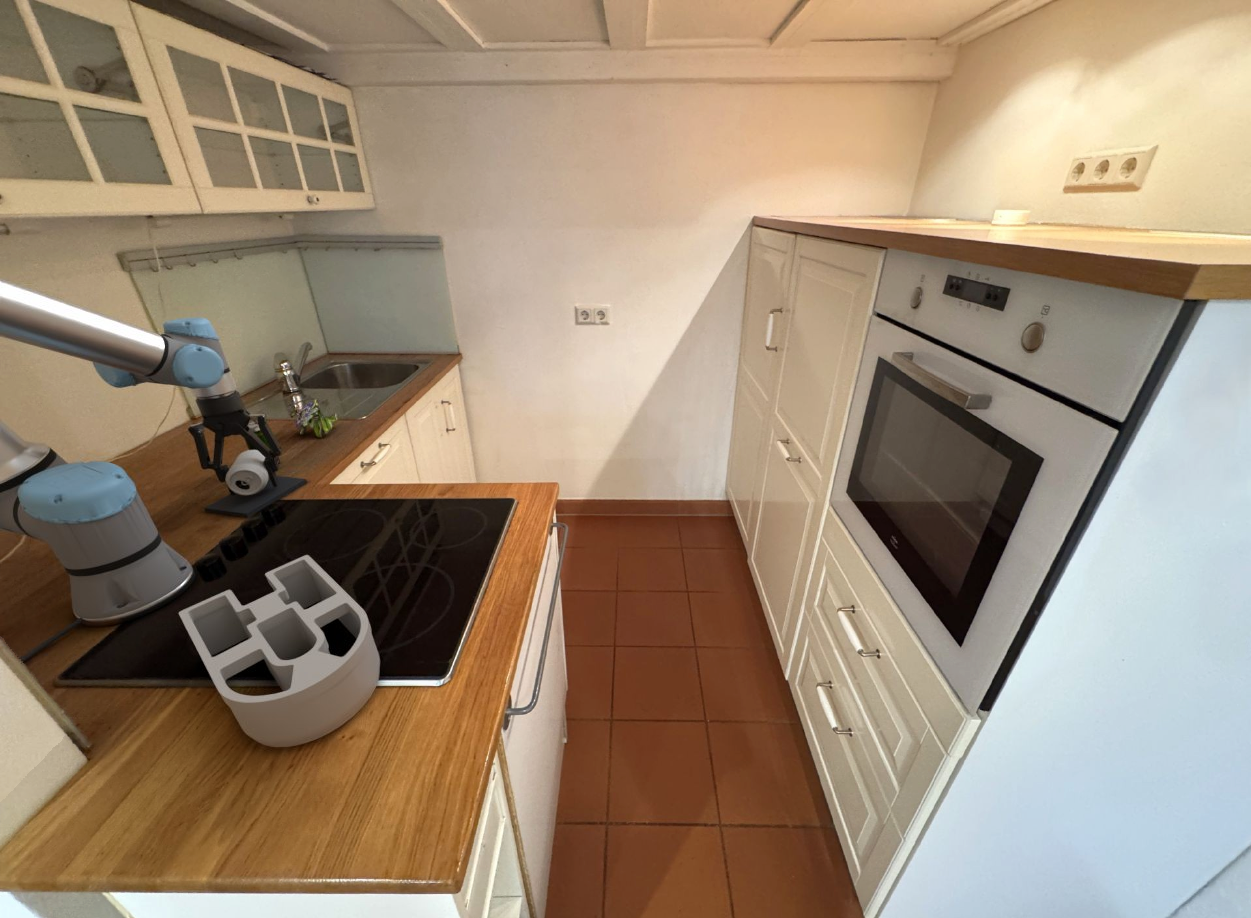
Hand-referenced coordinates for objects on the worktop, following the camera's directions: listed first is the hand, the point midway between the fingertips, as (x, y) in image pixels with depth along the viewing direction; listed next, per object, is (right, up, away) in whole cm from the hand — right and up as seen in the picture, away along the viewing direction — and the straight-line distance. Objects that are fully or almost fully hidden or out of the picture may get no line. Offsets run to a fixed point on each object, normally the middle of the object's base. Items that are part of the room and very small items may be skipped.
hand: (255, 488), depth 115 cm
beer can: (-7, +4, +15) cm, 17 cm away
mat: (0, -2, +1) cm, 2 cm away
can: (-3, +6, +4) cm, 8 cm away
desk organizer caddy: (+40, -23, -45) cm, 64 cm away
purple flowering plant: (-7, +15, +36) cm, 40 cm away
